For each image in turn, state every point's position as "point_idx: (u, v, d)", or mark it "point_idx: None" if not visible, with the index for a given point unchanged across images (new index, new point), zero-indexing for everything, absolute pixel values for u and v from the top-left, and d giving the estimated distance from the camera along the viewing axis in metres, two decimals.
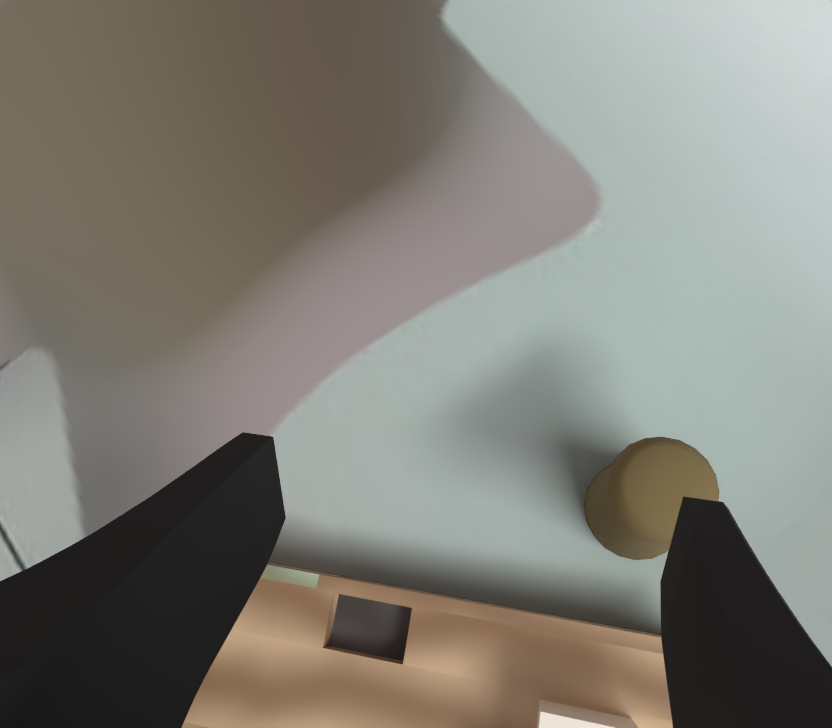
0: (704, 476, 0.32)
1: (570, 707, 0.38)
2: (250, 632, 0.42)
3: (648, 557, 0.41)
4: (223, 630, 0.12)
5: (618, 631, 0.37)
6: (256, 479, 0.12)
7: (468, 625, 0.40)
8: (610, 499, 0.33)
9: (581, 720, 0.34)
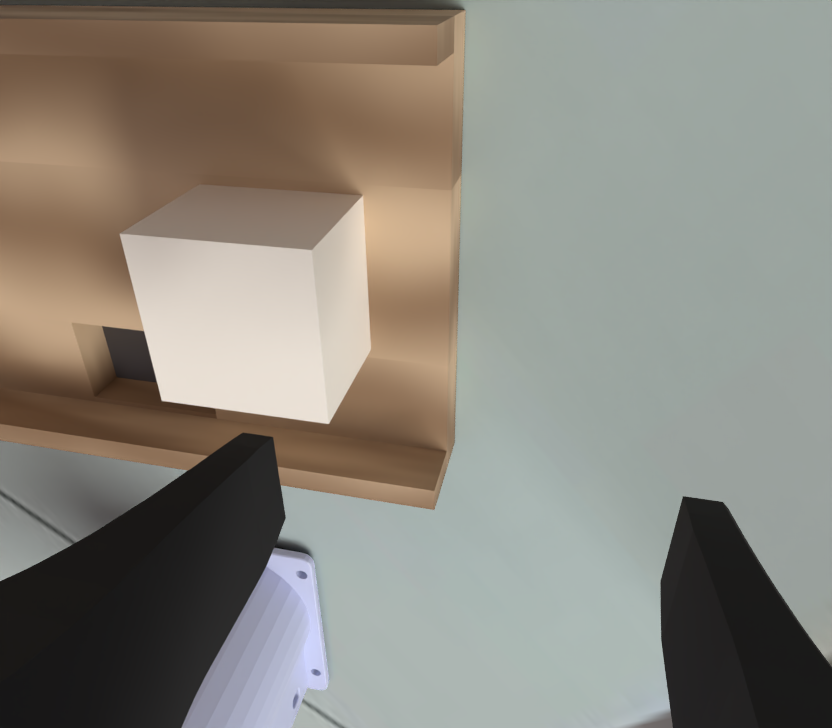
0: None
1: (241, 195, 0.19)
2: None
3: None
4: (223, 630, 0.12)
5: (272, 27, 0.15)
6: (256, 479, 0.12)
7: (34, 65, 0.19)
8: None
9: (197, 239, 0.16)
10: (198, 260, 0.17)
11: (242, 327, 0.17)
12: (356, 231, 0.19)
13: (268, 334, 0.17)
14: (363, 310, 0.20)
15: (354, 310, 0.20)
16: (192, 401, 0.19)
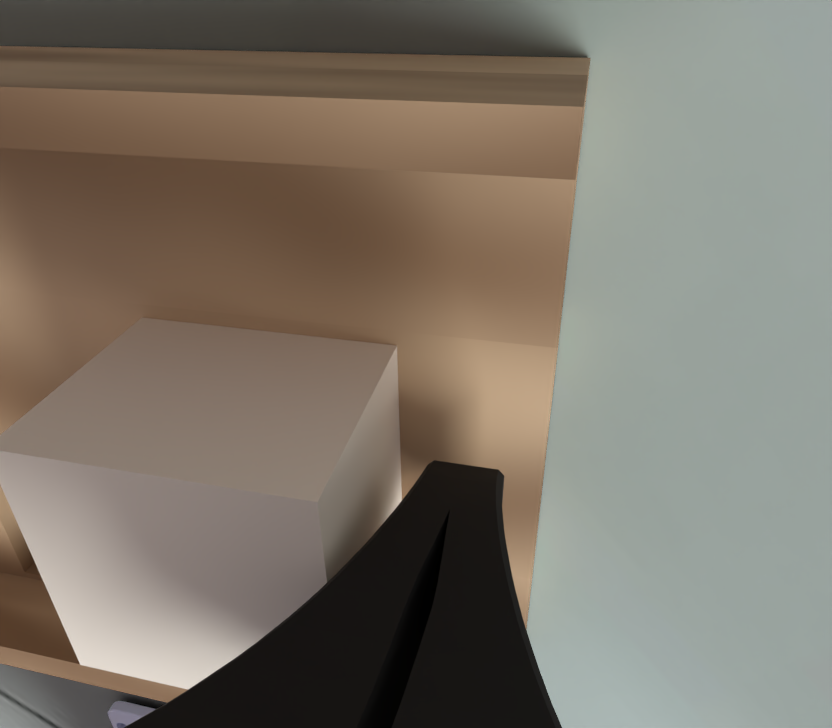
0: None
1: (204, 344, 0.12)
2: None
3: None
4: None
5: (260, 102, 0.08)
6: None
7: None
8: None
9: (116, 466, 0.09)
10: (120, 496, 0.10)
11: (200, 593, 0.10)
12: (387, 405, 0.12)
13: (244, 606, 0.10)
14: (395, 506, 0.13)
15: (382, 520, 0.12)
16: (127, 671, 0.12)
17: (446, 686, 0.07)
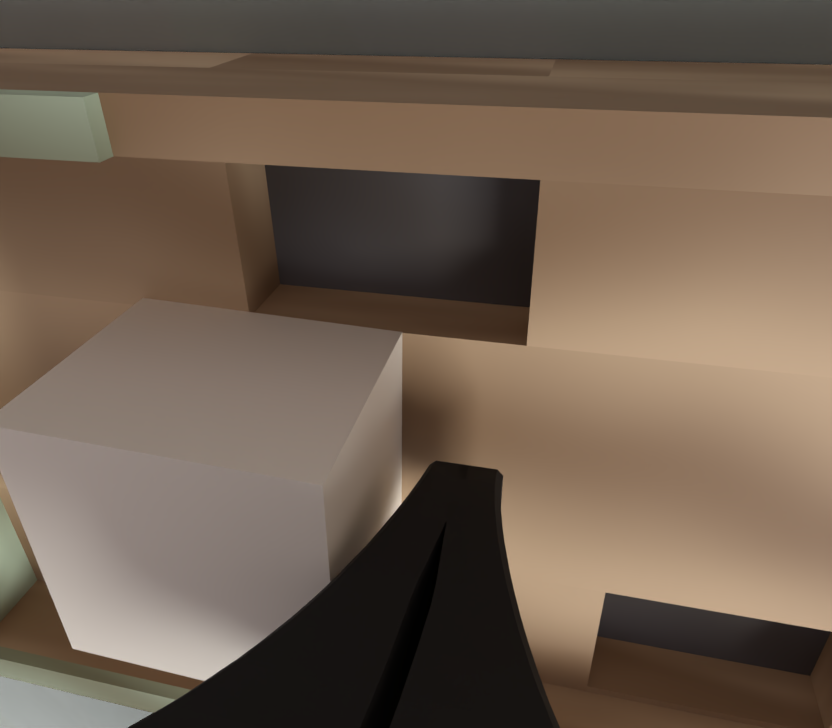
0: None
1: (207, 326, 0.12)
2: (30, 290, 0.13)
3: None
4: None
5: None
6: None
7: None
8: None
9: (116, 445, 0.09)
10: (119, 477, 0.09)
11: (199, 576, 0.10)
12: (391, 392, 0.12)
13: (242, 591, 0.10)
14: (395, 495, 0.13)
15: (383, 508, 0.12)
16: (120, 656, 0.12)
17: (444, 686, 0.07)
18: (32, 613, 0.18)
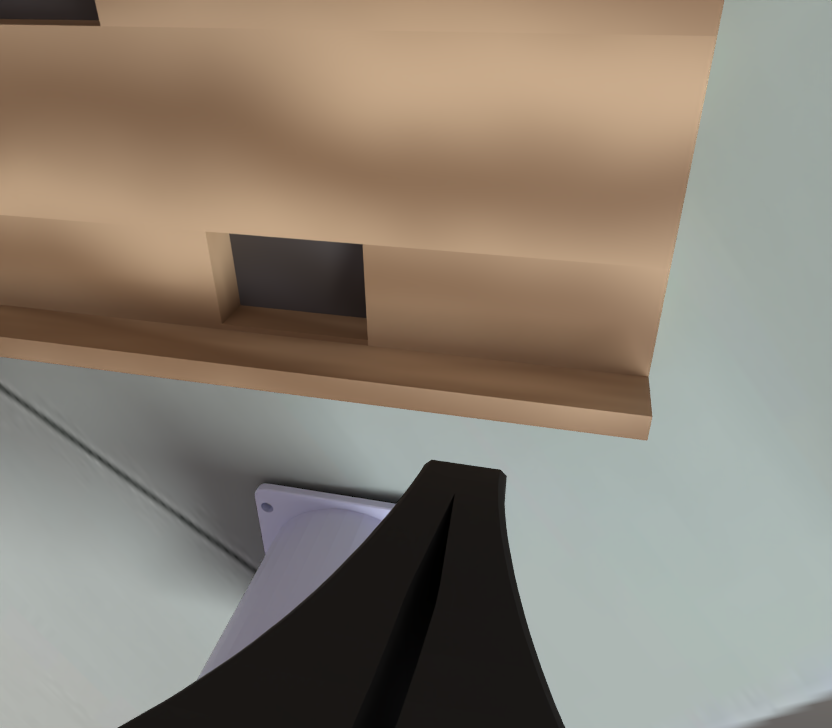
0: None
1: None
2: None
3: None
4: None
5: None
6: None
7: None
8: None
9: None
10: None
11: None
12: None
13: None
14: None
15: None
16: None
17: (449, 687, 0.07)
18: None
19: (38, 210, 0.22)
